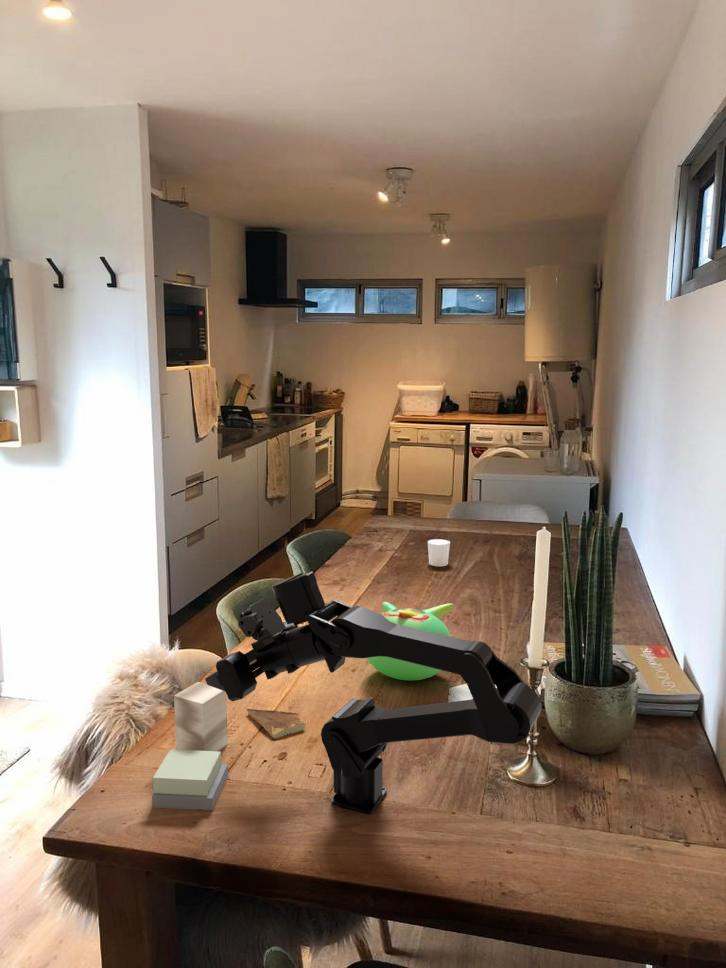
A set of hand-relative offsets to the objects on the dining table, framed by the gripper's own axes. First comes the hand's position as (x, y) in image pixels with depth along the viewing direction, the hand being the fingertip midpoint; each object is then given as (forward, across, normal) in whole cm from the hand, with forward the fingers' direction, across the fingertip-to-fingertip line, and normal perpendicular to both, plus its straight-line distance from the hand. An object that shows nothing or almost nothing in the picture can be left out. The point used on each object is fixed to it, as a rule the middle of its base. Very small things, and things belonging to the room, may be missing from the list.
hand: (224, 670), depth 122 cm
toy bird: (-6, -43, +20) cm, 47 cm away
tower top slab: (+6, +10, +12) cm, 17 cm away
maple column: (+12, -1, +12) cm, 17 cm away
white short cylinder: (+15, -119, +10) cm, 120 cm away
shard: (+6, -12, +15) cm, 20 cm away
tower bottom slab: (+6, +10, +15) cm, 19 cm away
